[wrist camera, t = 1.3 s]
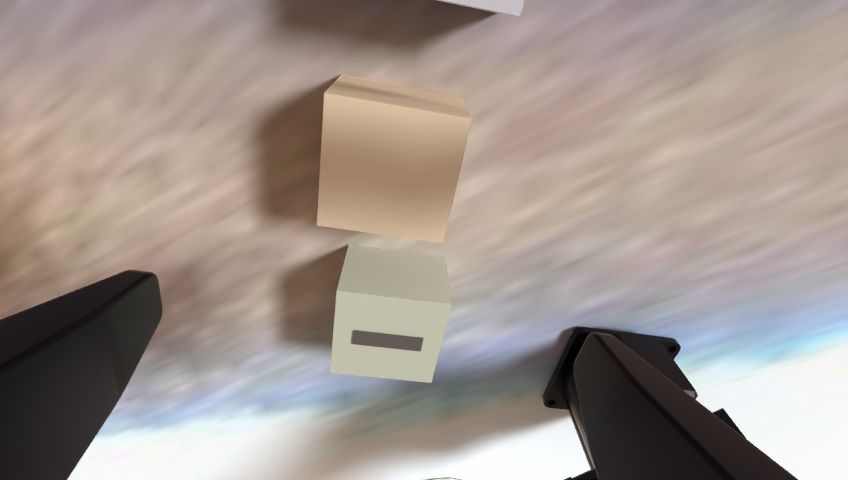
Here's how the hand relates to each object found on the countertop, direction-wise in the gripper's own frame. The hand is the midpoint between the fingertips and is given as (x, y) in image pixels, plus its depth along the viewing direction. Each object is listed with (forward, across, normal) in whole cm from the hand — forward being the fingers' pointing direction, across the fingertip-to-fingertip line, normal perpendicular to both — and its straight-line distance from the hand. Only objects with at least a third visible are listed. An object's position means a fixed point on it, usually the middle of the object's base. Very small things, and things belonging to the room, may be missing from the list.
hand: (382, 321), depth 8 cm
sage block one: (+12, -1, +8) cm, 15 cm away
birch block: (+12, 0, 0) cm, 12 cm away
